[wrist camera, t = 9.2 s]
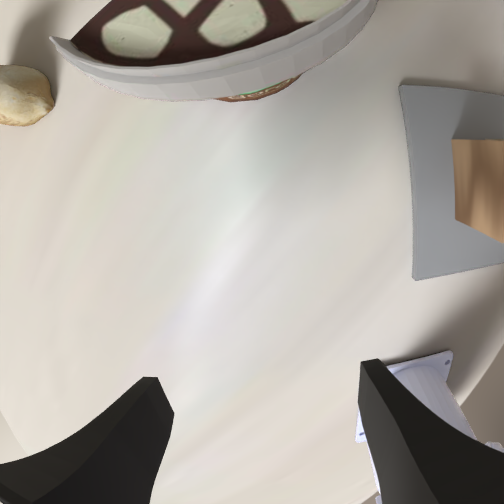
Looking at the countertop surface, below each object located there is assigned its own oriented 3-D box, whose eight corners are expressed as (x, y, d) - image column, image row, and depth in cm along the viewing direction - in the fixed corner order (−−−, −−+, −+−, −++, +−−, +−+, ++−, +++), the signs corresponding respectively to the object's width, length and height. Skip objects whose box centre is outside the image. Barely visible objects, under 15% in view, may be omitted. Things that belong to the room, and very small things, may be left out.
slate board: (521, 254, 16) (525, 257, 16) (412, 277, 18) (415, 280, 17) (517, 100, 13) (522, 99, 12) (398, 86, 14) (402, 84, 13)
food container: (212, 167, 17) (134, 190, 7) (151, 91, 15) (37, 50, 6) (381, 53, 13) (471, -19, 4) (315, -18, 12) (340, -124, 3)
